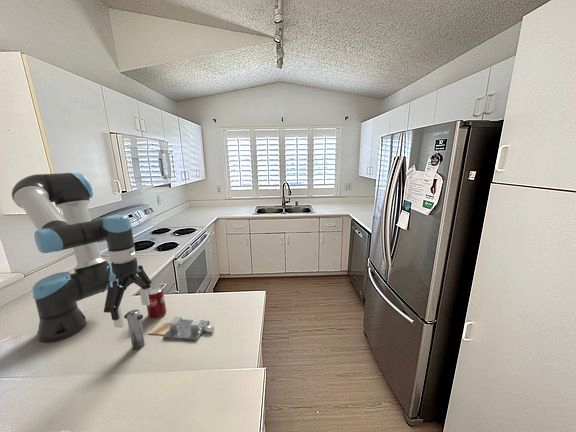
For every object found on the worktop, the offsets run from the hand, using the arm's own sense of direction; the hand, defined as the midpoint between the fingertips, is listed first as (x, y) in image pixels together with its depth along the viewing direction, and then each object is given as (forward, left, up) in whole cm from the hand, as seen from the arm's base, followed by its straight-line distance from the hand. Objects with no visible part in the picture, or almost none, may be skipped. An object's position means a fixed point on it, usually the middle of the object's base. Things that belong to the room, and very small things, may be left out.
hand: (133, 314), depth 91 cm
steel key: (0, 0, -13) cm, 13 cm away
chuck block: (+16, +10, -13) cm, 23 cm away
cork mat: (+3, +10, -13) cm, 17 cm away
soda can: (-5, +19, -13) cm, 24 cm away
